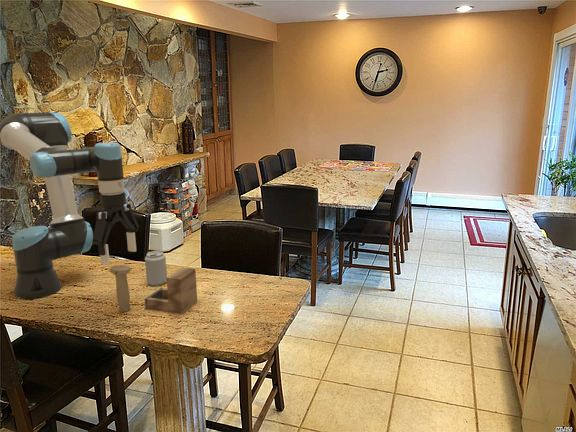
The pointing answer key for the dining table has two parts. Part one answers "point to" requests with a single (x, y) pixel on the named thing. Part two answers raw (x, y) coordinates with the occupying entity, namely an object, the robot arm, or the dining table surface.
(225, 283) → the dining table surface
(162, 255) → the can
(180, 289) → the wooden stand
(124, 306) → the handle
